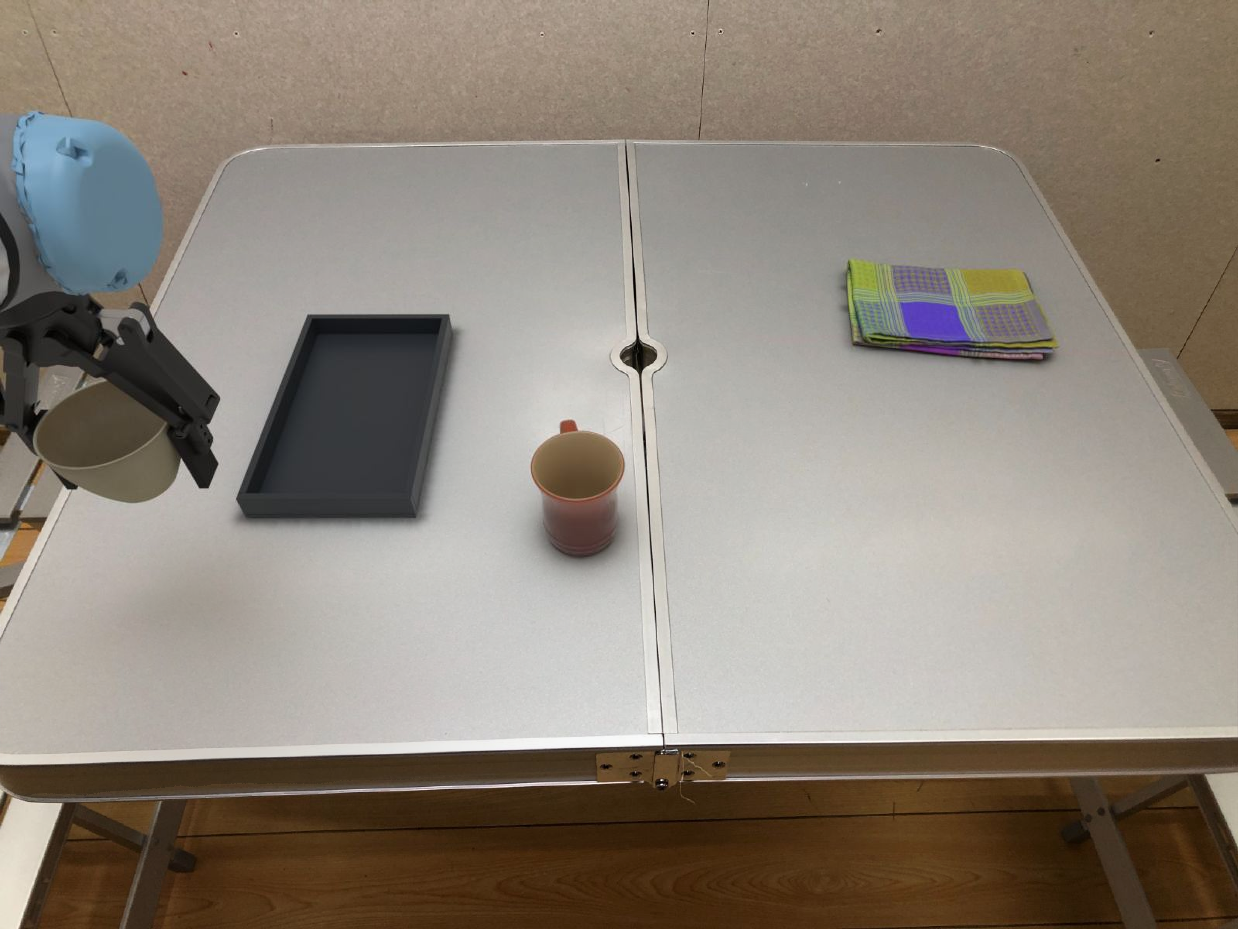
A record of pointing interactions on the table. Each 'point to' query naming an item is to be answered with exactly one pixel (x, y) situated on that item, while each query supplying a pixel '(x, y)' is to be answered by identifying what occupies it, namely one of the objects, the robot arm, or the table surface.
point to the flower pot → (108, 444)
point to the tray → (351, 419)
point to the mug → (578, 488)
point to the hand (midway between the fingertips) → (144, 476)
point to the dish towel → (947, 311)
